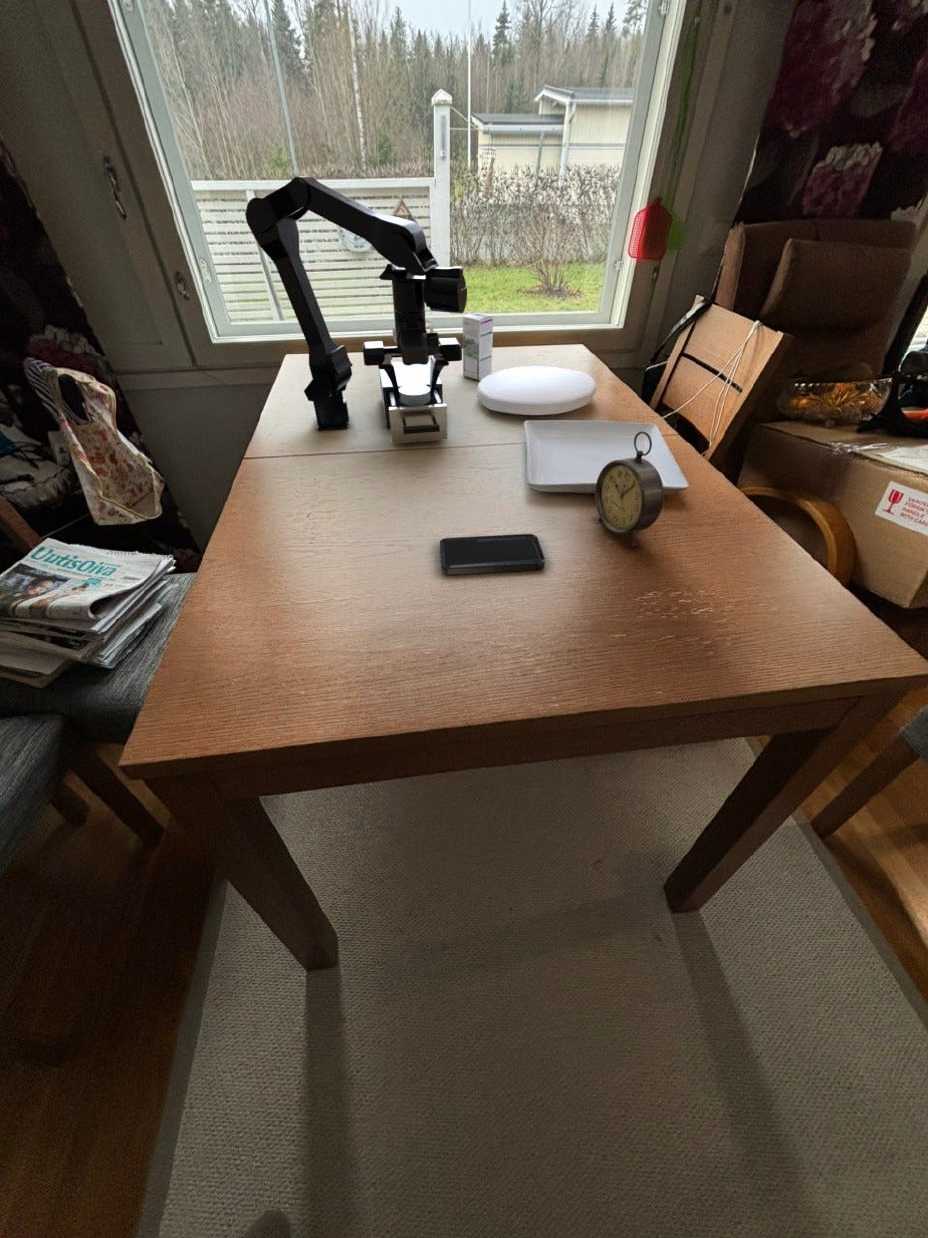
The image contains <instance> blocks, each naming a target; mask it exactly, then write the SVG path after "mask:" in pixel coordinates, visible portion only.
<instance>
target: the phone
mask: <svg viewBox="0 0 928 1238" xmlns="http://www.w3.org/2000/svg"><path fill="white" fill-rule="evenodd" d="M439 552H440V564H441V571H442V573H443V574H445V575H447V576H448V575H449V576H451V575H452V576H454V575H470V574H471V575H472V574H488V573H490V574H491V573H504V572H505V573H508V572H524V571H525V572H526V571H527V572H528V571H540V570H543V569H544V567H545V563H546V559H545V555H544V553H543V550H542V546H541V544H540V541H539V538H538V536H537V535H535V534H533V533H517V534H516V533H515V534H500V535H499V534H498V535H496V534H495V535H476V536H459V537H456V536H455V537H444V538H442V539H440V541H439Z"/></svg>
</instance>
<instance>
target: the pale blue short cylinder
mask: <svg viewBox="0 0 928 1238" xmlns="http://www.w3.org/2000/svg"><path fill="white" fill-rule="evenodd" d="M399 396H400V402H401V403H403V404H406V405H408V406H421V405H424V404H426V403H428V402H430V400H431V391H430V388H429V387H428V386H425V385H421V384H410V385H405V386H402V387H401V388H399Z"/></svg>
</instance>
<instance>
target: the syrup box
mask: <svg viewBox="0 0 928 1238" xmlns="http://www.w3.org/2000/svg"><path fill="white" fill-rule="evenodd" d="M493 333H494V316H493V315H492V314H487V313H481V312H470V313H468V314H465V315H463V316H462V372H463V375H462V376H463V377H465V378H468V379H471V380H475V381H479V382H480V381H481V380H482V379H483V378H485V377H486V376H488V375H490V374H493V373H492V371H493V336H494V335H493Z"/></svg>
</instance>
